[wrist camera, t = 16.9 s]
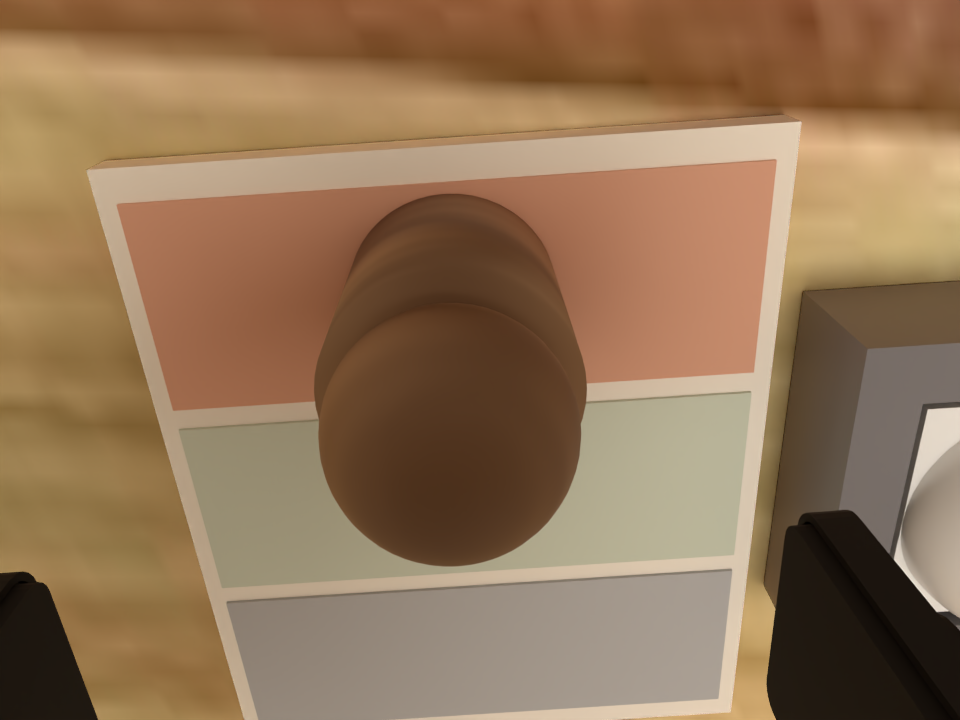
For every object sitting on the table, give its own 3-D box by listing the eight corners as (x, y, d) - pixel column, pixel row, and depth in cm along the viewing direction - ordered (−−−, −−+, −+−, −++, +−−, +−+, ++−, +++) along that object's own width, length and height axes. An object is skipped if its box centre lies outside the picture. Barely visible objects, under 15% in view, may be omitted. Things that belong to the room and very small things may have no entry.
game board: (258, 716, 26) (250, 745, 25) (104, 160, 18) (83, 171, 17) (721, 687, 26) (731, 715, 25) (784, 114, 18) (803, 122, 17)
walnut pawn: (364, 393, 20) (305, 650, 12) (334, 201, 17) (240, 373, 10) (557, 379, 20) (619, 630, 12) (553, 186, 17) (625, 346, 10)
